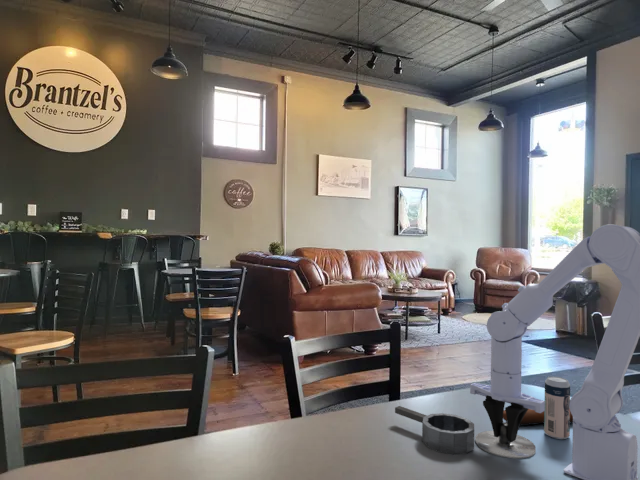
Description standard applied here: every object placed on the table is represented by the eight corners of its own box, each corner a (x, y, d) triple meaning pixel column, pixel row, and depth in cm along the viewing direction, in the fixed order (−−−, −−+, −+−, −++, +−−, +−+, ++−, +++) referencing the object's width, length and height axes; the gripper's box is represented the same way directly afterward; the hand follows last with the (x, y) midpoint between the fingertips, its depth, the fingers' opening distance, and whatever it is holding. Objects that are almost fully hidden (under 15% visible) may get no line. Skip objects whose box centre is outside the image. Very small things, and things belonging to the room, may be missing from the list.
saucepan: (483, 444, 91) (483, 424, 91) (456, 459, 85) (456, 437, 85) (410, 417, 105) (411, 400, 105) (382, 428, 98) (382, 410, 98)
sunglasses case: (564, 410, 111) (573, 391, 107) (581, 436, 105) (592, 416, 101) (494, 412, 108) (502, 393, 105) (507, 438, 102) (516, 419, 99)
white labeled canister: (572, 441, 93) (573, 383, 93) (547, 439, 94) (548, 381, 94) (565, 432, 98) (565, 376, 98) (541, 430, 99) (542, 375, 99)
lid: (545, 448, 90) (545, 426, 91) (519, 465, 83) (519, 441, 83) (492, 430, 99) (492, 409, 99) (464, 444, 92) (465, 422, 92)
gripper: (462, 366, 94) (461, 431, 94) (534, 383, 83) (532, 457, 83) (480, 360, 99) (479, 422, 98) (549, 376, 88) (548, 446, 88)
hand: (504, 438), depth 91 cm, fingers closed on lid, 2 cm apart
